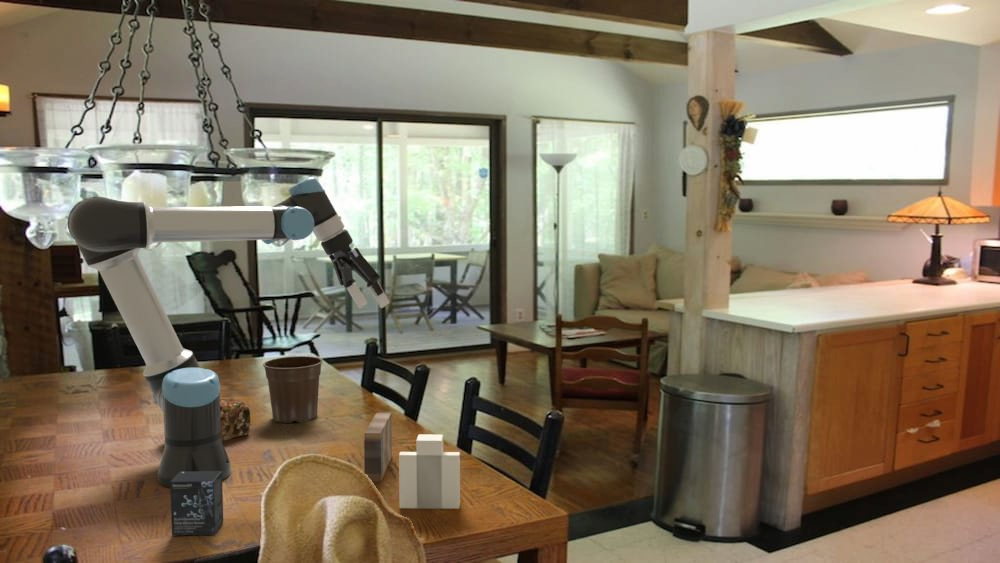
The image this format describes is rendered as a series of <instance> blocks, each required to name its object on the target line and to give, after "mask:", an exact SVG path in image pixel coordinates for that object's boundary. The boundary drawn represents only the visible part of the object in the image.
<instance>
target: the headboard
mask: <svg viewBox="0 0 1000 563" xmlns="http://www.w3.org/2000/svg"><path fill="white" fill-rule="evenodd" d="M415 442H416V447H415V448H416V450H415V451H399V453H398V472H399V473H398V480H399V481H398V490H399V491H398V492H399V494H398V497H399V504H398V505H399V509H444V510H445V509H449V510H450V509H460V506H461V495H460V494H461V489H460V488H461V479H460V478H461V476H460V475H461V472H460V471H461V469H460V468H461V464H460V463H461V461H460V460H461V458H460V456H461V452H460V451H444V434H429V433H428V434H427V433H426V434H422V433H420V434H418V435H417V437H416V441H415Z"/></svg>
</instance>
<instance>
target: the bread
mask: <svg viewBox="0 0 1000 563" xmlns="http://www.w3.org/2000/svg"><path fill="white" fill-rule="evenodd" d="M250 411H251V410H250V407H249V405H248V404H246V403H245V402H244V401H241V400H239V399H237V398H234V397H229V398H220V418H221V440H222V442H224V440H225V441H229V440H231V439H234V438H236V437H237V438H238V437H242V436H243V435H245V436H247V435H249V433H250V428H251V425H252V424H251V412H250ZM243 437H244V436H243ZM228 439H229V440H228Z"/></svg>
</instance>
